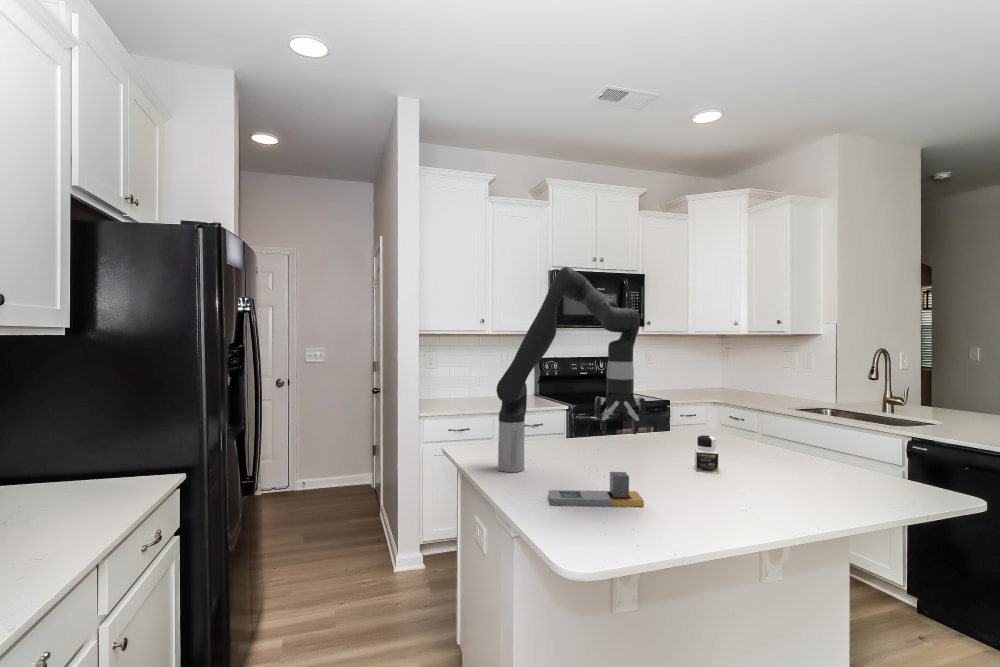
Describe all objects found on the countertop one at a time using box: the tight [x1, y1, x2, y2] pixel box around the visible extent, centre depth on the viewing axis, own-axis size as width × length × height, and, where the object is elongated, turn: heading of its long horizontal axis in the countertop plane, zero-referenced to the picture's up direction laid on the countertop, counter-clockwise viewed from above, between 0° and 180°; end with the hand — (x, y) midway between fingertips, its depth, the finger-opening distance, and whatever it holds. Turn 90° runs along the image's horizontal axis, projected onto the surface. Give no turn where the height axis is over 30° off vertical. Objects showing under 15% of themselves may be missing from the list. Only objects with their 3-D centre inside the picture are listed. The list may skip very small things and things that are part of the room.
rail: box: [548, 489, 645, 507], centre depth 145 cm, size 26×8×2 cm, turn 89°
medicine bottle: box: [694, 434, 719, 474], centre depth 180 cm, size 7×7×12 cm
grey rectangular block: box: [609, 471, 630, 499], centre depth 145 cm, size 4×4×8 cm
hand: (619, 433), depth 145 cm, fingers open, 8 cm apart
